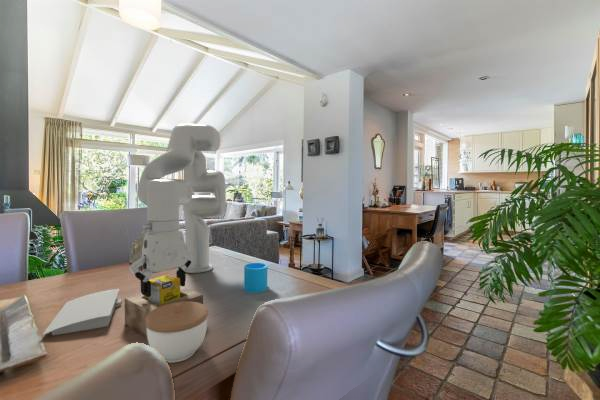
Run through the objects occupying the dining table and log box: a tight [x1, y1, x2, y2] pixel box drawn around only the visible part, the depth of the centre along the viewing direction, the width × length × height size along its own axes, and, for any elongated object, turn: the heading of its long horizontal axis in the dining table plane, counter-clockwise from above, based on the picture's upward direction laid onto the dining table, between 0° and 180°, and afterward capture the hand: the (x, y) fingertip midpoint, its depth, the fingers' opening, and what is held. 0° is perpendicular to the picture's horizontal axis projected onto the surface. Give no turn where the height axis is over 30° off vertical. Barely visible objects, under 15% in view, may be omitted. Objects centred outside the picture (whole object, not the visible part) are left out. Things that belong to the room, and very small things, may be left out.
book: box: [41, 288, 123, 337], centre depth 82 cm, size 15×23×4 cm, turn 26°
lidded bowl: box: [145, 301, 209, 364], centre depth 65 cm, size 13×13×11 cm
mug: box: [243, 262, 268, 294], centre depth 106 cm, size 12×8×8 cm
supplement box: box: [148, 274, 180, 306], centre depth 79 cm, size 6×6×11 cm
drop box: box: [124, 286, 204, 338], centre depth 79 cm, size 14×14×7 cm
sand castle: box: [128, 231, 145, 265], centre depth 140 cm, size 16×16×15 cm
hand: (164, 290), depth 79 cm, fingers open, 9 cm apart
